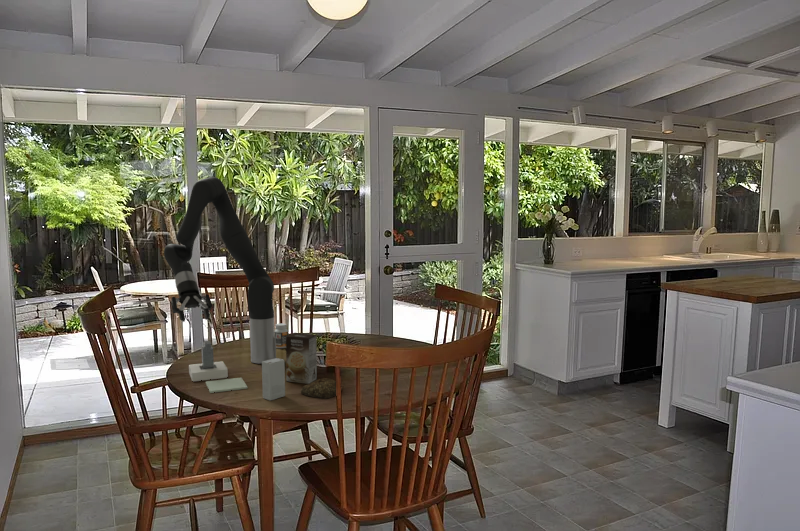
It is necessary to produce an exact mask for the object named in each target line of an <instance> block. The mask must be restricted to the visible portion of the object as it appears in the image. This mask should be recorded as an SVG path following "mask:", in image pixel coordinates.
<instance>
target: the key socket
mask: <svg viewBox="0 0 800 531" xmlns="http://www.w3.org/2000/svg"><path fill="white" fill-rule="evenodd" d="M228 370H229V369H228V367H227V365H226V364H225V363H224V361H222V360H221V361H214V368H213V369H203V370H202V362H201V363H195V364H194V363H193V364H188V374H189V376H190V379H191V382H192V381H193V382H199V381H201V380H202V381H211V380H217V379H218V380H220V379H228V378H229V371H228ZM227 377H228V378H227ZM210 379H211V380H210ZM202 381H201V382H202Z"/></svg>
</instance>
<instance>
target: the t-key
mask: <svg viewBox="0 0 800 531" xmlns="http://www.w3.org/2000/svg"><path fill="white" fill-rule="evenodd" d="M214 362H215V360H214V347H213V346H212V343H211V341H210V340H204V341H203V346H201V363H202V370H203V369H213V368H214Z"/></svg>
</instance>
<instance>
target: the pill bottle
mask: <svg viewBox="0 0 800 531" xmlns="http://www.w3.org/2000/svg"><path fill="white" fill-rule="evenodd" d="M288 335H289V329H287V323H283V322H282V323H275V329H274V336H275V337H276V349H286V336H288Z"/></svg>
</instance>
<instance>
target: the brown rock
mask: <svg viewBox="0 0 800 531" xmlns="http://www.w3.org/2000/svg"><path fill="white" fill-rule="evenodd" d="M341 387H342V388H343V386H342V385H341ZM300 394H301V395H304V396H306V397H312V398H315V399H316V398H318V399H330V397H331V398H333V396H334V397H335V396H337V395H336V380H334V379H332V378H326V377H322V378H319V379H316V380H314V381H313V382H311V383H309V384H306V385H303V386H302V388H301V390H300Z"/></svg>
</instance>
